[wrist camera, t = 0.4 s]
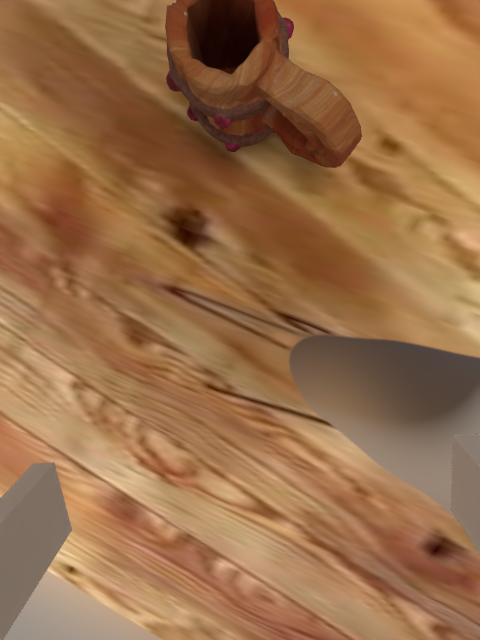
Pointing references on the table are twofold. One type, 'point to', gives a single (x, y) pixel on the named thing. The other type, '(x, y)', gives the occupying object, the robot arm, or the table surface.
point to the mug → (254, 81)
